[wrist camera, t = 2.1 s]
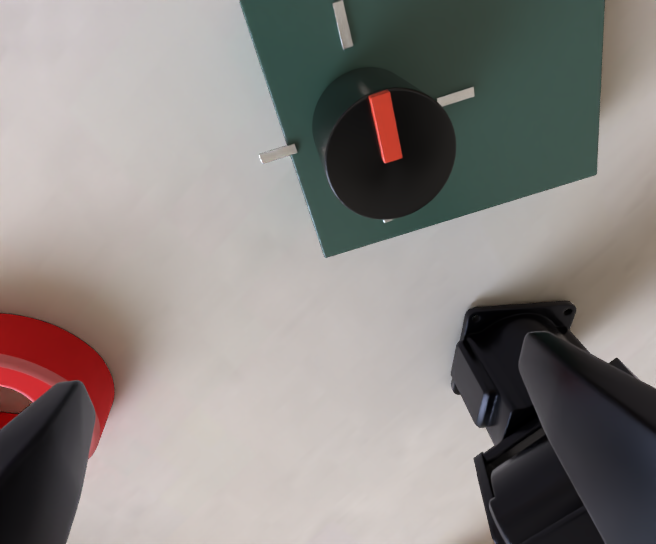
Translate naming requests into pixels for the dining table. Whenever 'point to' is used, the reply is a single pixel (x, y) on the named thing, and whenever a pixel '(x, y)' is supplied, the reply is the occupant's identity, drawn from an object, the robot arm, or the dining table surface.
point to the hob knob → (382, 143)
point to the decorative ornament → (51, 365)
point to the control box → (442, 93)
